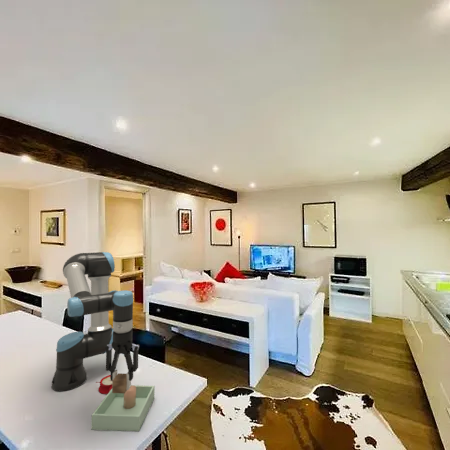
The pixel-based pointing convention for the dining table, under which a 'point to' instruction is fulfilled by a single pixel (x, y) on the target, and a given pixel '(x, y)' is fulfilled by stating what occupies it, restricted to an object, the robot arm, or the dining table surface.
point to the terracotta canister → (130, 397)
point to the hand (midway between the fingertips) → (121, 387)
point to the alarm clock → (105, 385)
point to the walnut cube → (119, 383)
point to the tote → (123, 411)
